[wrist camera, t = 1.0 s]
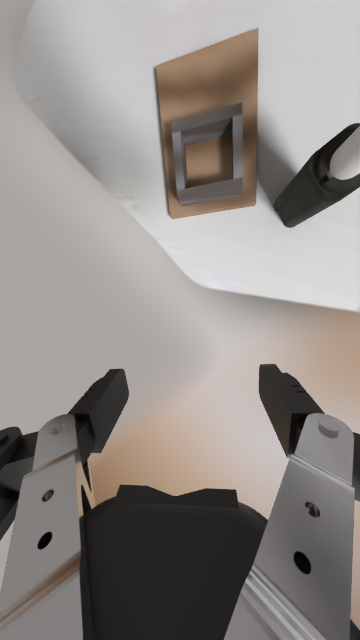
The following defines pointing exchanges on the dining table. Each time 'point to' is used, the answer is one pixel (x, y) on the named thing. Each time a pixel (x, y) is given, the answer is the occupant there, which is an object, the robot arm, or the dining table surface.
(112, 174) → the dining table surface
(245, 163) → the holder board
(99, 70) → the dining table surface
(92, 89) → the dining table surface
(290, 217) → the white and black bottle
